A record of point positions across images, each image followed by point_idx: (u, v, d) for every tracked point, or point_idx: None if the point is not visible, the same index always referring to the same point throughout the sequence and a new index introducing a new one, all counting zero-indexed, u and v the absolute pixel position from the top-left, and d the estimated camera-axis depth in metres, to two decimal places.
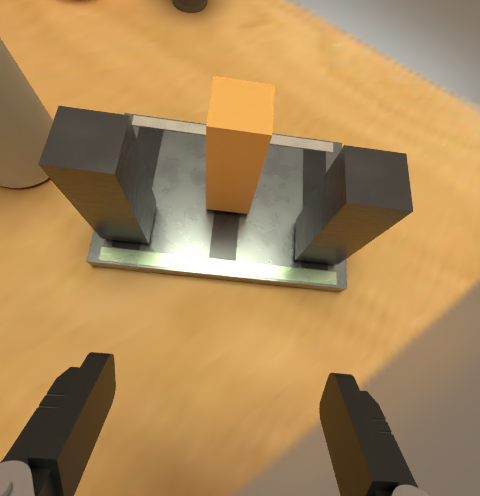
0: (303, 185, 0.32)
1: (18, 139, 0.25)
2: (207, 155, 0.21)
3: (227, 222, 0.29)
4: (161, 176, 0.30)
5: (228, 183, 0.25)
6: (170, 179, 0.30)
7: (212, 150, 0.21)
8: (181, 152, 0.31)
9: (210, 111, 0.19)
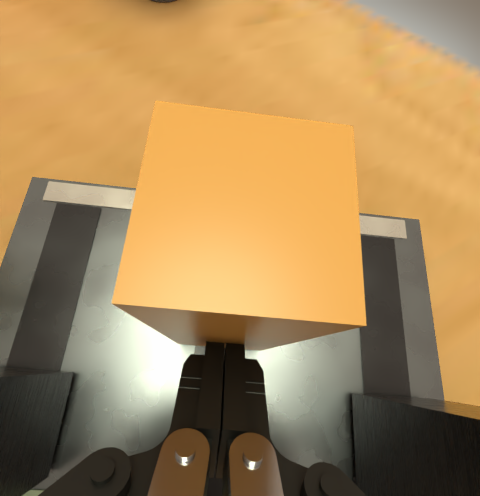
0: None
1: None
2: (150, 324, 0.07)
3: None
4: (90, 304, 0.16)
5: (217, 340, 0.11)
6: (107, 310, 0.16)
7: (160, 323, 0.07)
8: None
9: (132, 237, 0.05)
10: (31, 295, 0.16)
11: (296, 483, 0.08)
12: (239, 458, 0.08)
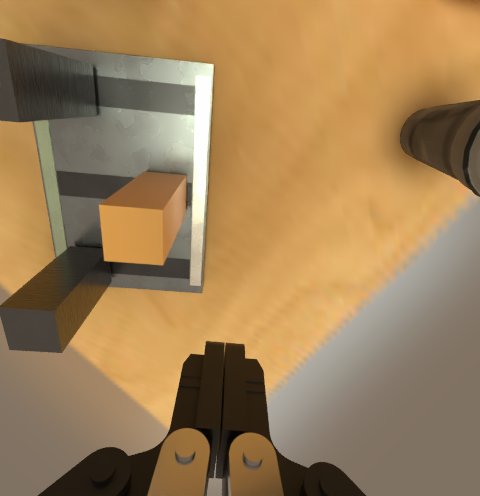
0: None
1: None
2: (115, 194, 0.22)
3: (96, 187, 0.31)
4: (134, 117, 0.28)
5: None
6: (132, 127, 0.29)
7: None
8: (168, 138, 0.29)
9: (116, 207, 0.20)
10: (135, 81, 0.27)
11: (296, 483, 0.08)
12: (239, 458, 0.08)
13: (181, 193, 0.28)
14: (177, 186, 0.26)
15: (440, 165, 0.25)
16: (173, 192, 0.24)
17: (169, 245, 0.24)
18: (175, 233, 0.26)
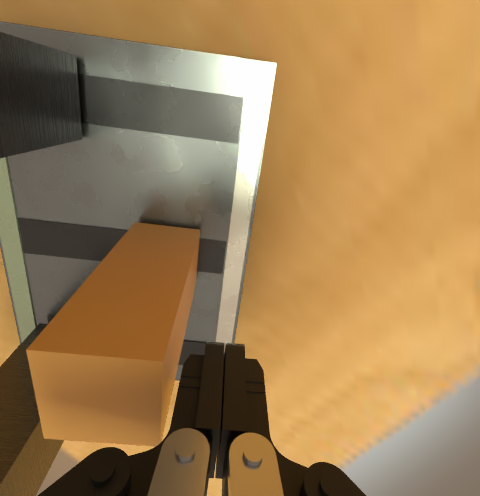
0: None
1: None
2: None
3: (79, 243, 0.20)
4: (142, 143, 0.18)
5: None
6: (138, 158, 0.18)
7: None
8: (194, 176, 0.19)
9: (65, 355, 0.09)
10: (146, 85, 0.17)
11: (296, 483, 0.08)
12: (239, 458, 0.08)
13: (193, 267, 0.17)
14: (188, 264, 0.15)
15: None
16: (182, 285, 0.14)
17: (172, 384, 0.13)
18: (182, 342, 0.15)
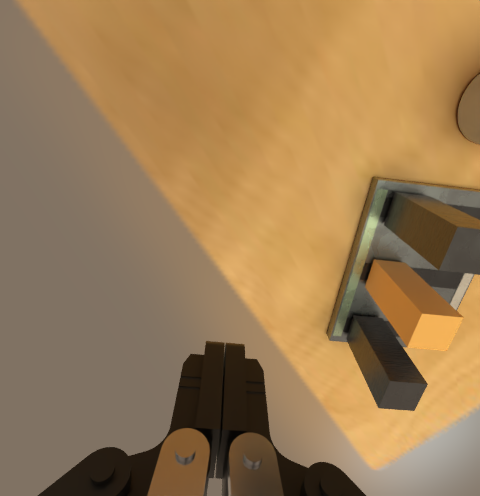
0: None
1: None
2: (406, 296, 0.31)
3: None
4: None
5: (386, 293, 0.35)
6: None
7: (408, 303, 0.31)
8: None
9: (433, 315, 0.29)
10: (451, 205, 0.36)
11: (296, 483, 0.08)
12: (239, 458, 0.08)
13: None
14: (424, 281, 0.35)
15: None
16: (435, 291, 0.33)
17: None
18: None
